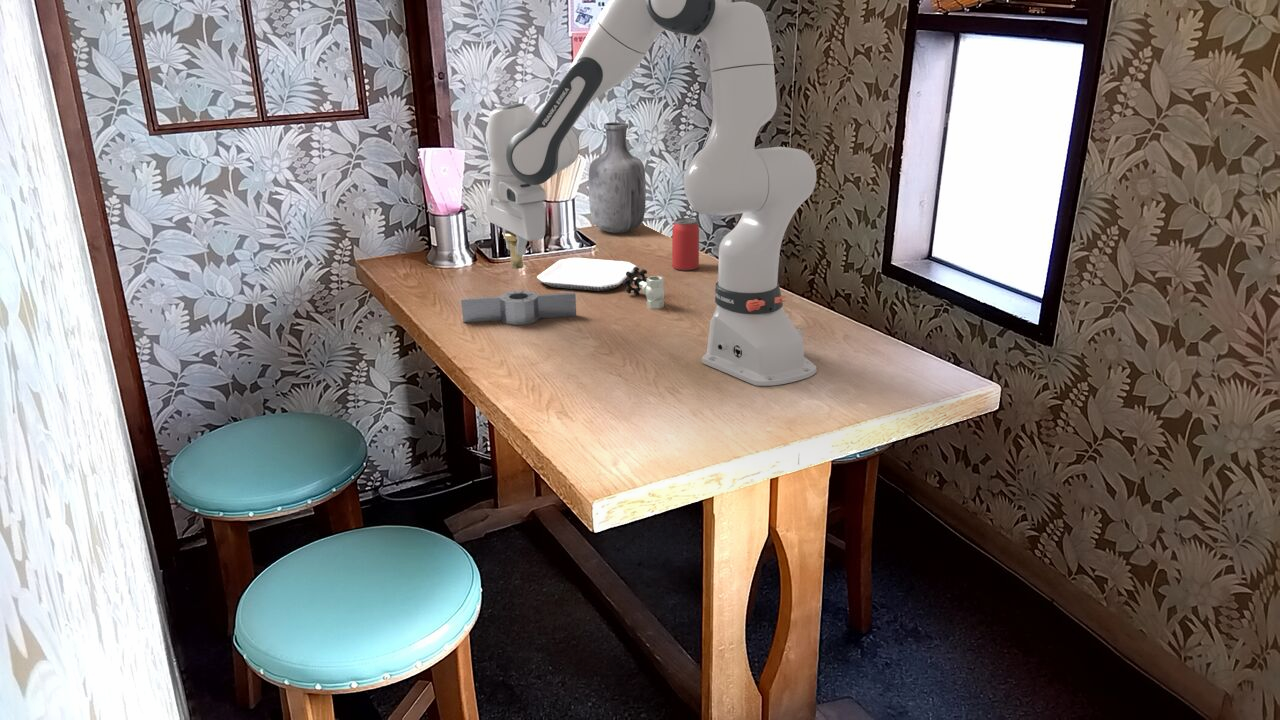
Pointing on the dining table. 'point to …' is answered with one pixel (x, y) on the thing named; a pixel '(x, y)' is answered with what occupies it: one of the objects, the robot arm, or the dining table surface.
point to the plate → (586, 274)
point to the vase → (617, 184)
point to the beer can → (685, 244)
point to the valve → (647, 287)
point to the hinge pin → (515, 258)
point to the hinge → (518, 307)
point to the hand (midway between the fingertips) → (516, 251)
